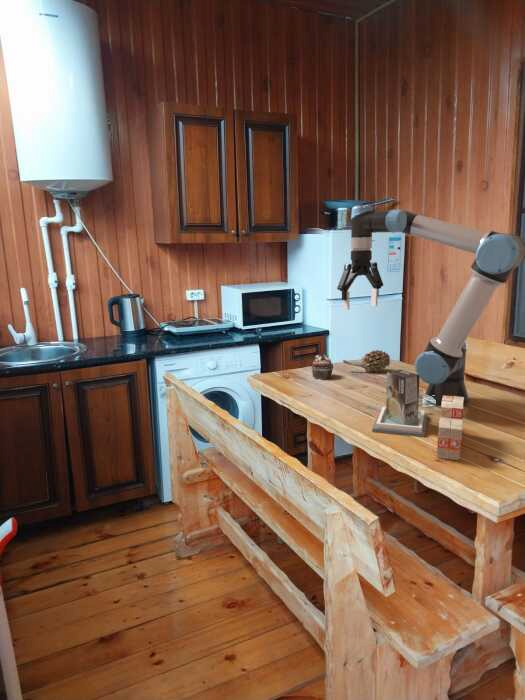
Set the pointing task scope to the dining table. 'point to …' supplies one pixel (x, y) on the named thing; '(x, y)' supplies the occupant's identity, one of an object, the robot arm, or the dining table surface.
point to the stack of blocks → (450, 428)
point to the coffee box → (402, 397)
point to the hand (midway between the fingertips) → (360, 307)
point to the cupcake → (322, 367)
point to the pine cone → (373, 361)
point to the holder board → (400, 425)
